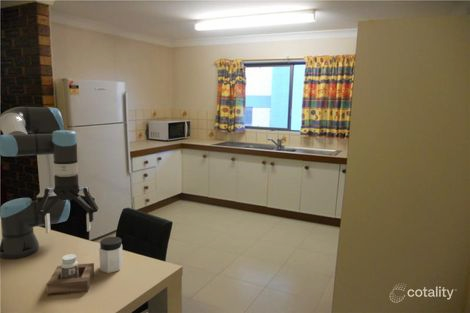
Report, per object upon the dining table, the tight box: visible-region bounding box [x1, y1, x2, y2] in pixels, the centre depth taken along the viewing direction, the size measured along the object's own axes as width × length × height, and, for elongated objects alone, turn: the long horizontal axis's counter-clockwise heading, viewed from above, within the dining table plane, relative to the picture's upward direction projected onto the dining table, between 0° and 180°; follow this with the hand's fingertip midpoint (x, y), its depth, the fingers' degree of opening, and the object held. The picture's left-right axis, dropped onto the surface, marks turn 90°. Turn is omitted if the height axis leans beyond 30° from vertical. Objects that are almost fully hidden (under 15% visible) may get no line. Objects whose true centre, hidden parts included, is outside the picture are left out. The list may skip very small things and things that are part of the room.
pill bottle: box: [60, 253, 79, 279], centre depth 120 cm, size 6×6×10 cm
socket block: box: [46, 262, 95, 297], centre depth 121 cm, size 13×13×4 cm
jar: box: [98, 236, 124, 274], centre depth 133 cm, size 9×8×12 cm
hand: (68, 231), depth 118 cm, fingers open, 13 cm apart
